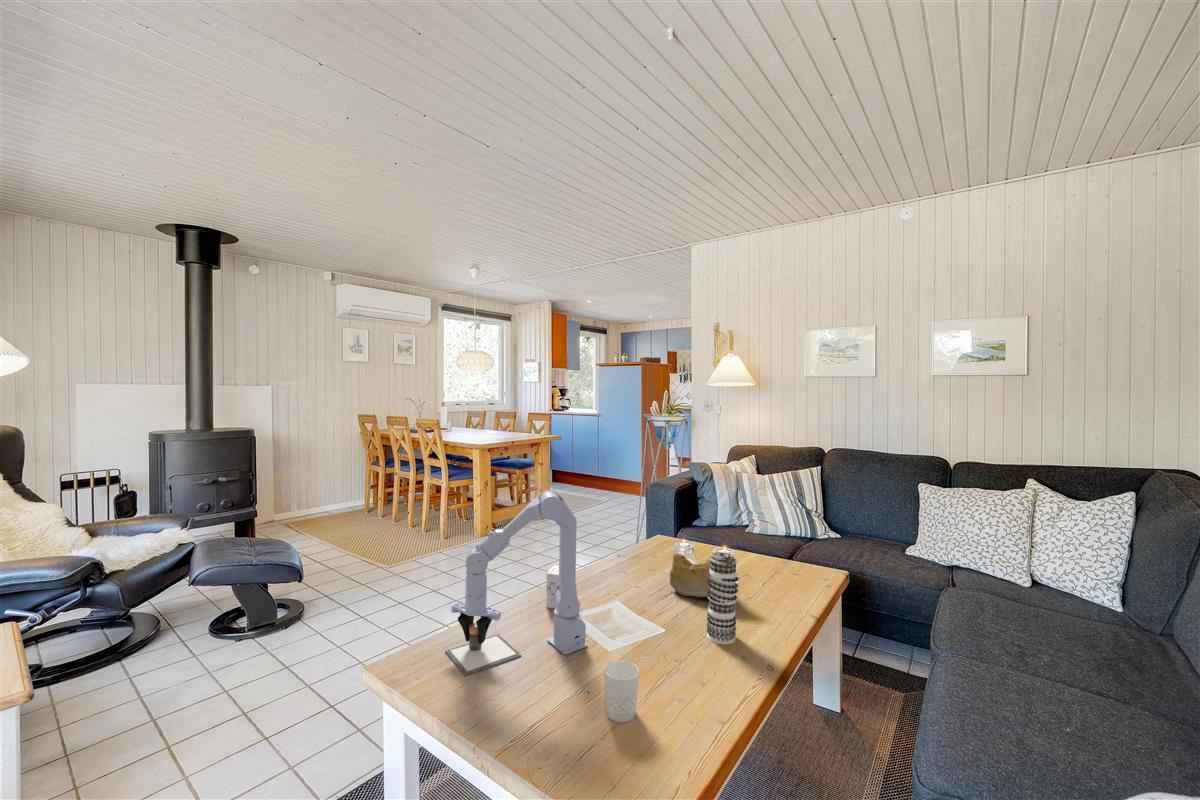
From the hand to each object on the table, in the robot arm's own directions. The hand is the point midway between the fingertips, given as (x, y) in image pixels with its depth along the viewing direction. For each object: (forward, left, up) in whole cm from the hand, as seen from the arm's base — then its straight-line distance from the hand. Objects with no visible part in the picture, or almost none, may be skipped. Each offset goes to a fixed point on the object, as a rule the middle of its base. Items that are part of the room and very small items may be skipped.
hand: (475, 641), depth 137 cm
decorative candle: (-35, -63, -3) cm, 72 cm away
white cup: (-44, -16, -3) cm, 47 cm away
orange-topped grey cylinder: (0, 0, -2) cm, 2 cm away
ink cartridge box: (+13, -35, -3) cm, 37 cm away
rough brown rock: (-11, -84, -3) cm, 85 cm away
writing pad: (-3, -1, -3) cm, 4 cm away
